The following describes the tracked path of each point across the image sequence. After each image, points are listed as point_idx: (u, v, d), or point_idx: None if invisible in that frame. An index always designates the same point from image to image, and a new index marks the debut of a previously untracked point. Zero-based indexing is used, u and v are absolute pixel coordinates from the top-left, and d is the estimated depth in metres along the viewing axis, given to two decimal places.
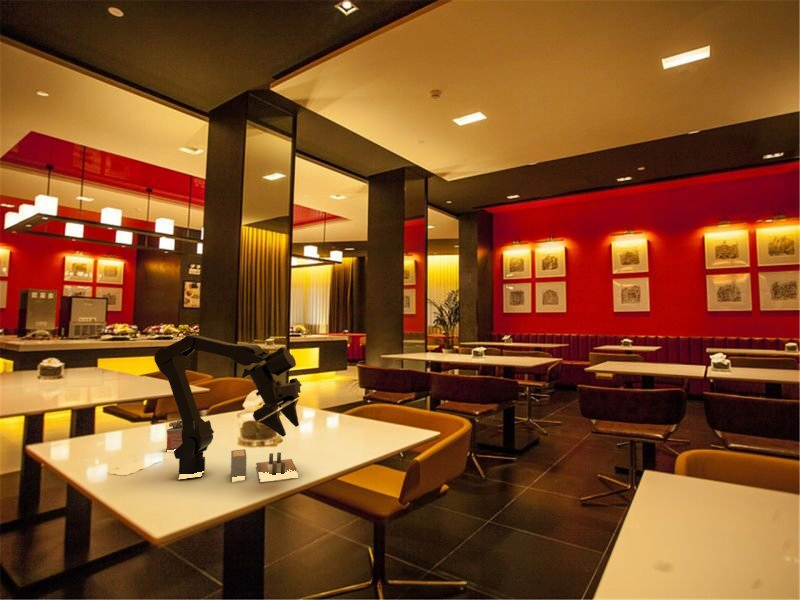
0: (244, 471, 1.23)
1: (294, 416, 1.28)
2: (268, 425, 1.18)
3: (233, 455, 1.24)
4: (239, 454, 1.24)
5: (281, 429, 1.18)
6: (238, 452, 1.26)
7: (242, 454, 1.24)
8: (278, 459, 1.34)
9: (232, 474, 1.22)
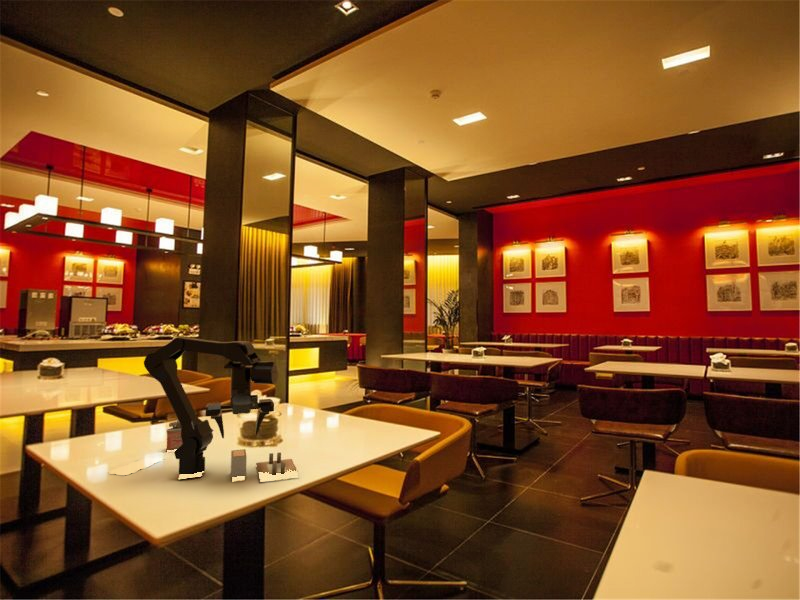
0: (244, 471, 1.23)
1: (256, 425, 1.27)
2: None
3: (233, 455, 1.24)
4: (239, 454, 1.24)
5: (220, 431, 1.23)
6: (238, 452, 1.26)
7: (242, 454, 1.24)
8: (278, 459, 1.34)
9: (232, 474, 1.22)
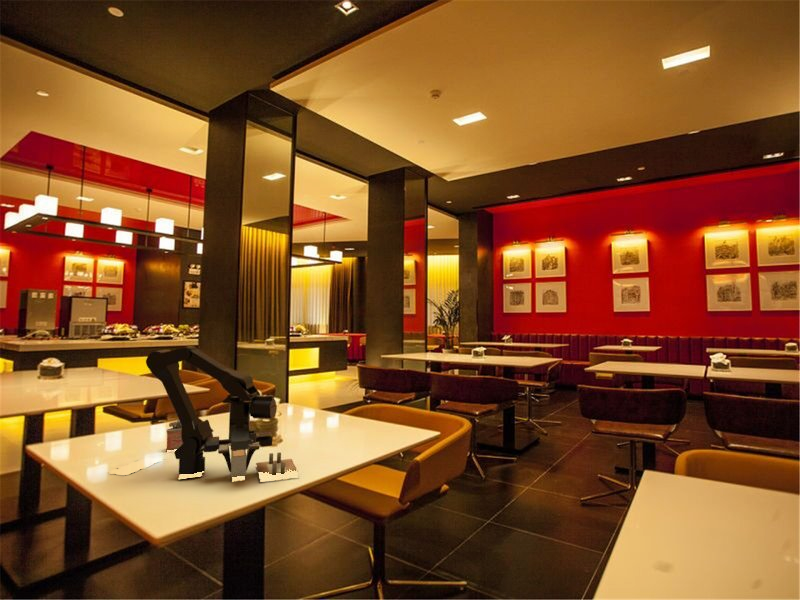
0: (244, 471, 1.23)
1: (246, 460, 1.26)
2: None
3: (233, 455, 1.24)
4: (239, 454, 1.24)
5: (227, 465, 1.24)
6: (238, 452, 1.26)
7: (242, 454, 1.24)
8: (278, 459, 1.34)
9: (232, 474, 1.21)
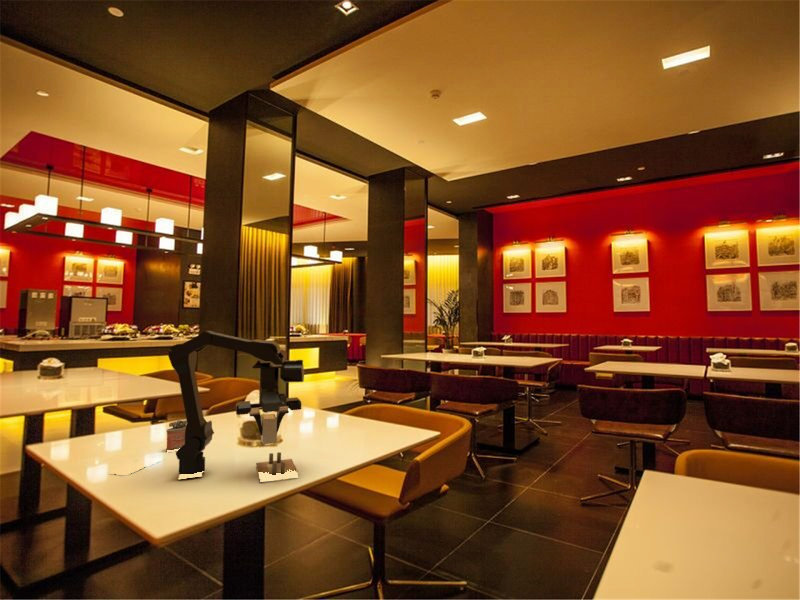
0: (275, 433, 1.26)
1: None
2: None
3: (264, 418, 1.27)
4: (269, 417, 1.28)
5: None
6: (268, 416, 1.29)
7: (272, 417, 1.28)
8: (278, 459, 1.34)
9: (263, 436, 1.25)
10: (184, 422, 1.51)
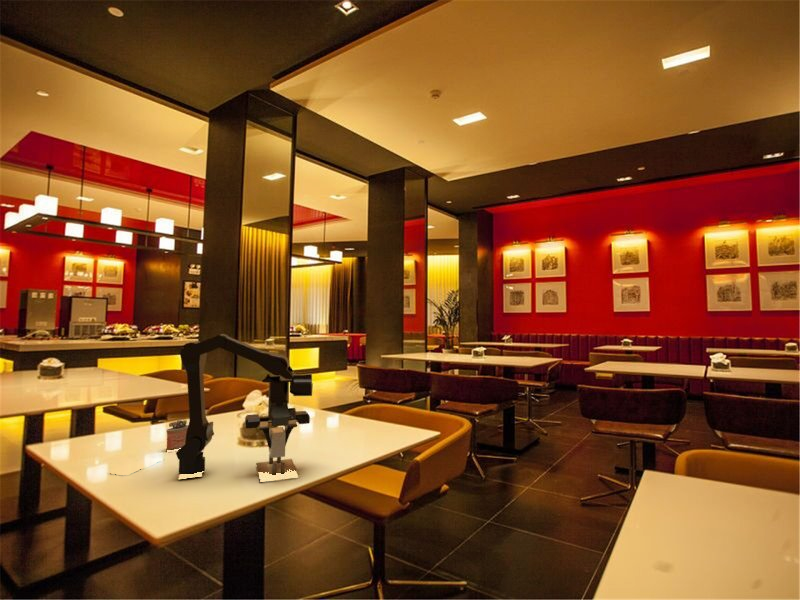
0: (283, 447, 1.27)
1: None
2: None
3: (272, 432, 1.28)
4: (278, 431, 1.29)
5: (267, 442, 1.28)
6: (276, 429, 1.30)
7: (281, 431, 1.29)
8: (278, 459, 1.34)
9: (272, 450, 1.26)
10: (184, 422, 1.51)
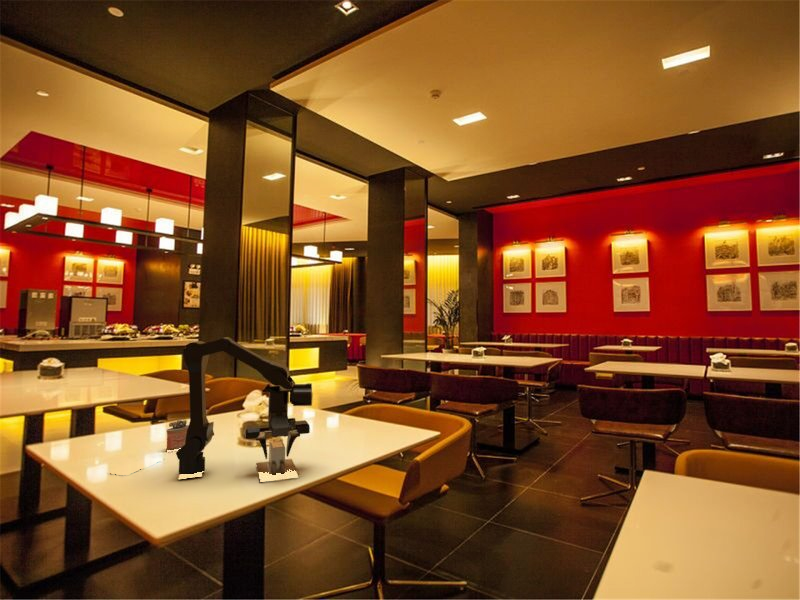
0: (283, 462, 1.27)
1: (287, 447, 1.30)
2: None
3: (272, 446, 1.28)
4: (278, 445, 1.29)
5: None
6: (276, 443, 1.30)
7: (281, 445, 1.29)
8: None
9: None
10: (184, 422, 1.51)
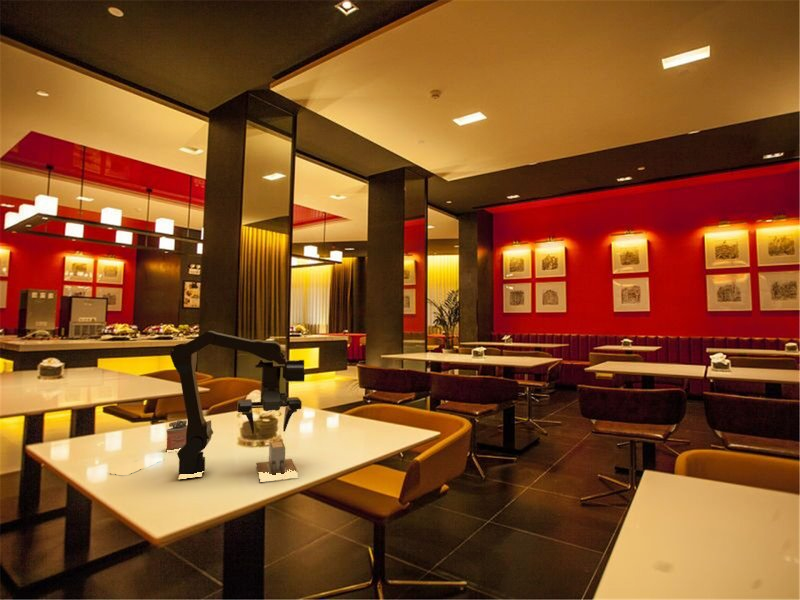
0: (283, 462, 1.27)
1: (284, 422, 1.32)
2: None
3: (272, 446, 1.28)
4: (278, 445, 1.29)
5: None
6: (276, 443, 1.30)
7: (281, 445, 1.29)
8: None
9: None
10: (184, 422, 1.51)
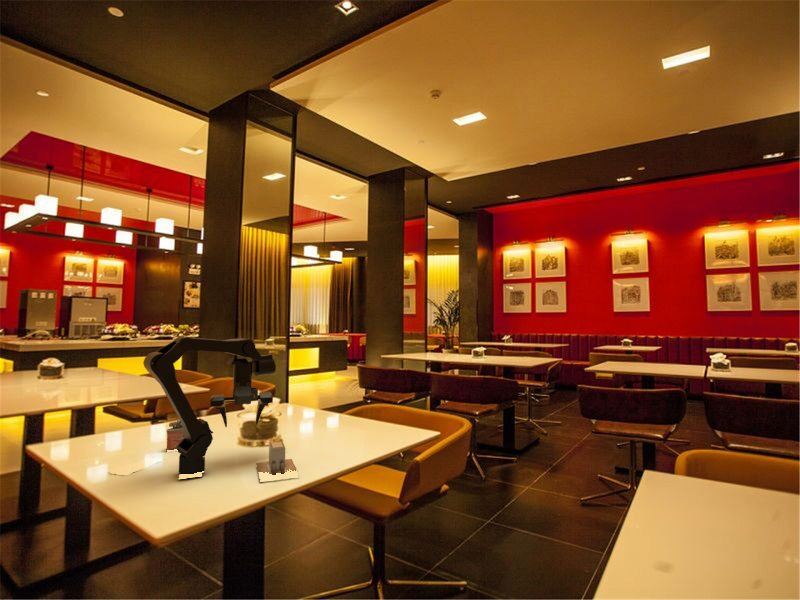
0: (283, 462, 1.27)
1: (256, 415, 1.38)
2: None
3: (272, 446, 1.28)
4: (278, 445, 1.29)
5: None
6: (276, 443, 1.30)
7: (281, 445, 1.29)
8: None
9: None
10: None
